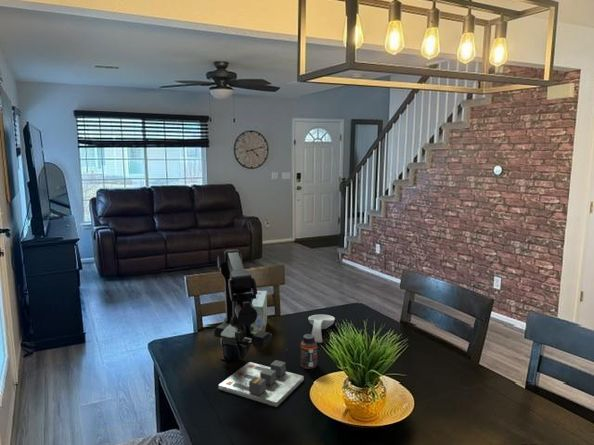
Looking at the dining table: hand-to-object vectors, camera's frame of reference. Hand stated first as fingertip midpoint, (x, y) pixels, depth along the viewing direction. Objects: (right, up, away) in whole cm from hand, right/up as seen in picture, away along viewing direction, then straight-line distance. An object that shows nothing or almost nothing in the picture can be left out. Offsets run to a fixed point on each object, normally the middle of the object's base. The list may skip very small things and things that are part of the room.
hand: (243, 359), depth 143 cm
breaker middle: (+8, -9, +4) cm, 12 cm away
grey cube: (+5, -10, -1) cm, 11 cm away
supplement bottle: (+22, -8, +19) cm, 30 cm away
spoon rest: (+27, -3, +49) cm, 56 cm away
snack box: (+1, -3, +49) cm, 49 cm away
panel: (+6, -10, +6) cm, 13 cm away
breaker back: (+11, -8, +10) cm, 17 cm away
